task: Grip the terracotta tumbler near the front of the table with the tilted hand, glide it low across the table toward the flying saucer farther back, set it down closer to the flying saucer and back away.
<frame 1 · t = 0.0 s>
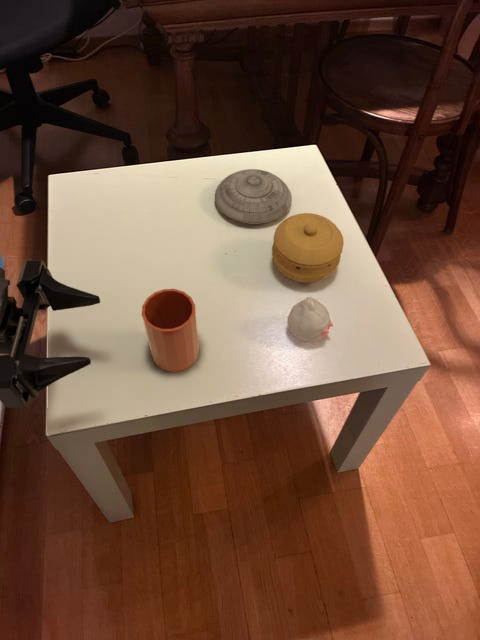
hand: (95, 328, 60), 14 cm above the table, tool horizontal, fingers open, 9 cm apart
figurine: (307, 333, 78), on the table
flying saucer: (252, 203, 95), on the table
tumbler: (175, 351, 75), on the table
pot: (303, 267, 86), on the table
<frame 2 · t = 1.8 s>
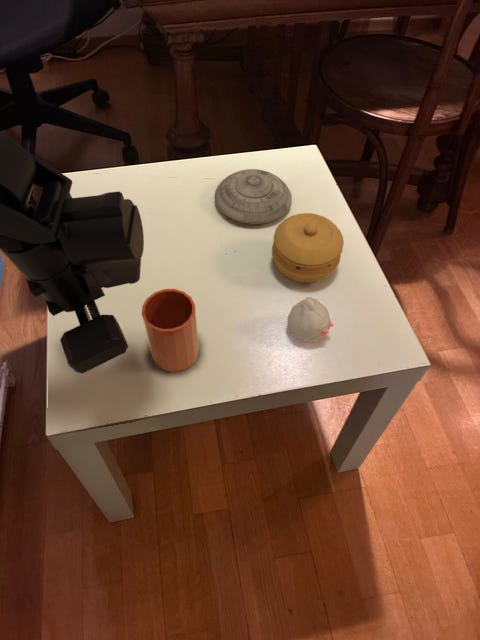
hand: (101, 327, 63), 12 cm above the table, tool pointing down, fingers open, 9 cm apart
nothing on the table moved.
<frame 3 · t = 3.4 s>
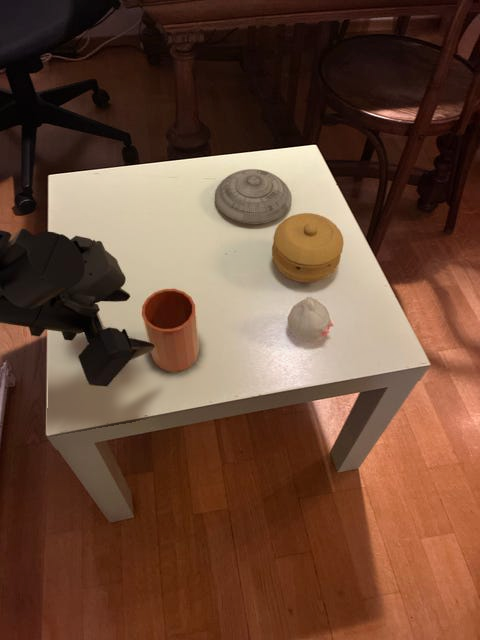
hand: (140, 321, 65), 11 cm above the table, tool tilted 45°, fingers open, 9 cm apart
nothing on the table moved.
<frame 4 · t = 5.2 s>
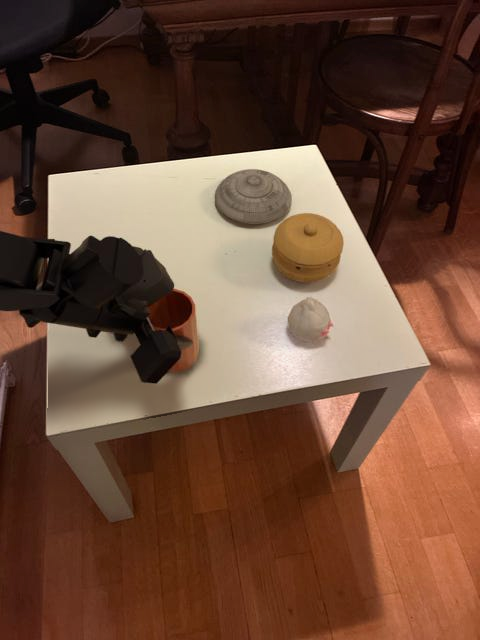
hand: (180, 324, 70), 7 cm above the table, tool tilted 45°, fingers closed on tumbler, 7 cm apart
tumbler: (175, 351, 75), on the table, touching gripper
everything else where it was.
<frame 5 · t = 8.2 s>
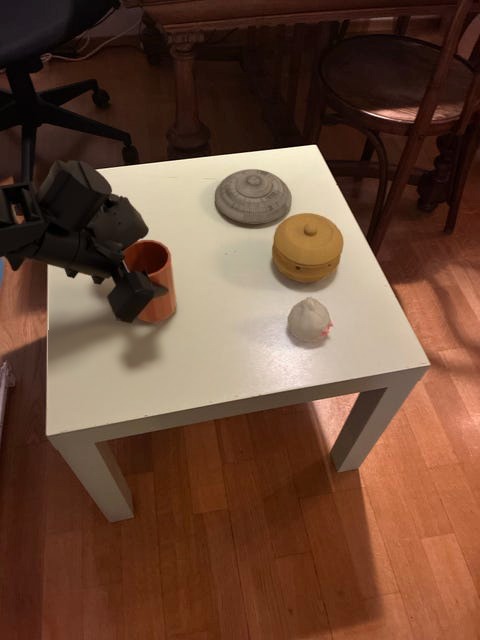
hand: (157, 274, 74), 8 cm above the table, tool tilted 45°, fingers closed on tumbler, 7 cm apart
tumbler: (154, 303, 79), point 1 cm above the table, touching gripper
everything else where it was.
when the fingers open (7 cm above the table, at t = 11.5 s): tumbler stays where it is, on the table.
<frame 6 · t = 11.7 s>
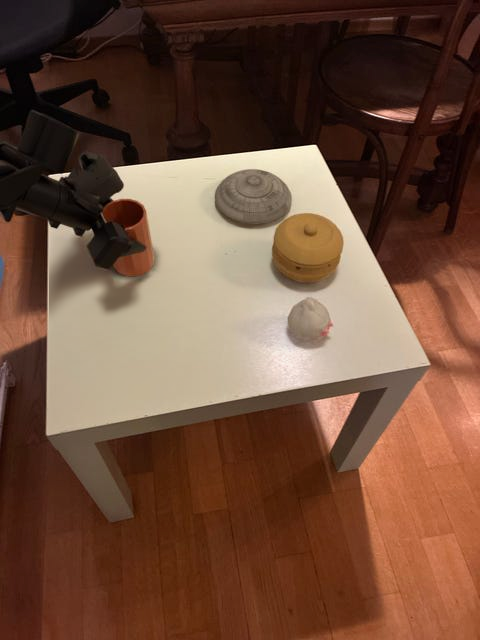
hand: (135, 231, 81), 7 cm above the table, tool tilted 45°, fingers open, 8 cm apart
tumbler: (133, 260, 86), on the table
everything else where it was.
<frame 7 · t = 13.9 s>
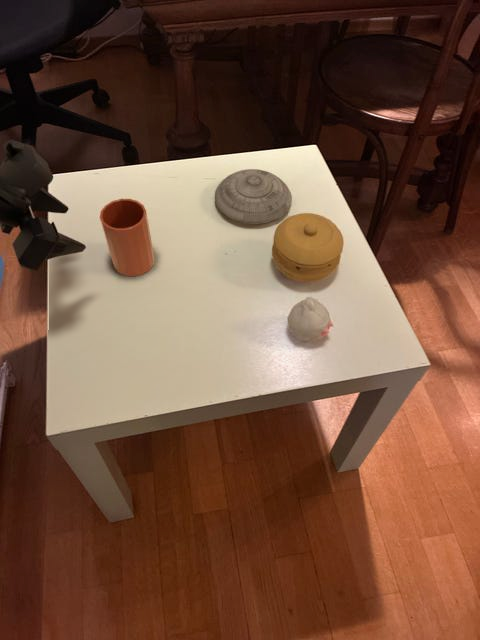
hand: (75, 228, 74), 11 cm above the table, tool tilted 45°, fingers open, 9 cm apart
nothing on the table moved.
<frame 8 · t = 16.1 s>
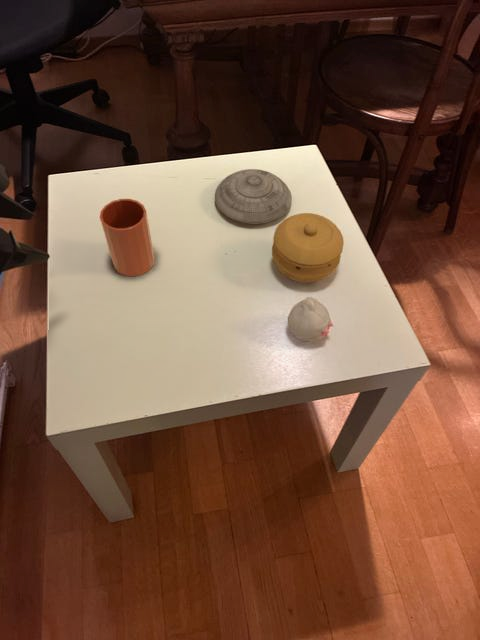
hand: (39, 236, 70), 14 cm above the table, tool tilted 45°, fingers open, 9 cm apart
nothing on the table moved.
at the end: tumbler 26.6 cm from the flying saucer (horizontally); tumbler tilted 0°; the gripper is holding nothing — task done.
